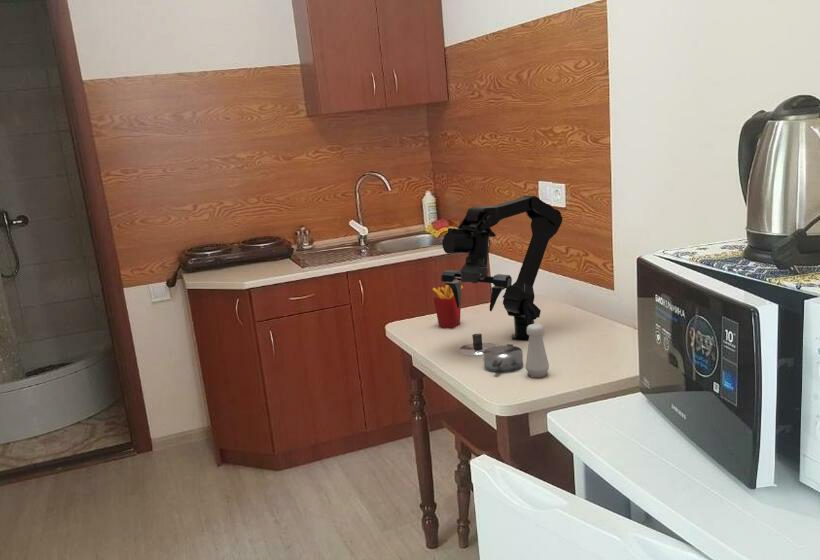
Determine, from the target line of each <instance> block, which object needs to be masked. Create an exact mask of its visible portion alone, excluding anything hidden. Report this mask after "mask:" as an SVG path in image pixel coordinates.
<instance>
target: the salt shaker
mask: <svg viewBox="0 0 820 560" xmlns="http://www.w3.org/2000/svg"><path fill="white" fill-rule="evenodd" d="M544 333H545V328H544V326H543V325H542V324H540V323H534V324H531V325H529V326H527V334H528V335H529V340H528V342H527V343H528V345H527V350H526V351H527V352H526V359H525V370H526V372H527V374H528V375H529V377H531V376H532V378H543V377H546V376H547V373H548V371H549V368H550V363H549V360H548V355H547V352H546V348H545V344H544V338H543V335H544Z"/></svg>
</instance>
